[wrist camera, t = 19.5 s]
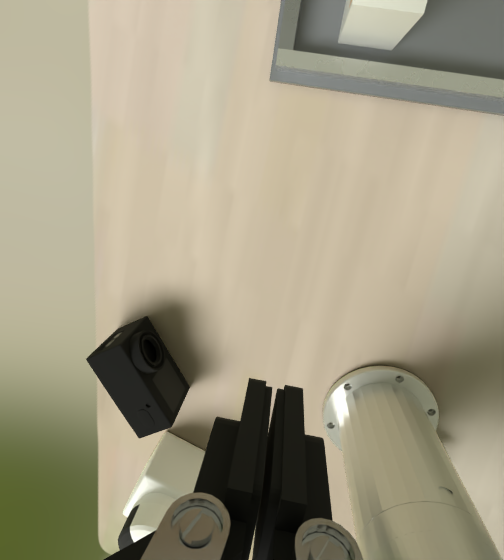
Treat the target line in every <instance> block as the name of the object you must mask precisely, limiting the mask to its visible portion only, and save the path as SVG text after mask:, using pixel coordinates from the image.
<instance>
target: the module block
mask: <svg viewBox="0 0 504 560" xmlns="http://www.w3.org/2000/svg"><path fill="white" fill-rule="evenodd" d="M426 4H427V0H346V3H345V8H344V13H343V18H342V23H341V29H340V34H339V39H338V43H340V44H348V45H355V46H362V47H369V48H376V49H384V50H392V49H393V48H394V47H395V46H396V45H397V44H398V43H399V41H400V40H401V39H402V38H403V37H404V36H405V35H406V34H407V32H408V31H409V30H410V29H411V28H412V27H413V26H414V25H415V23H416V22H417V21H418V20H419V19H420V18H421V17H422V15H423V14H424V12H425V8H426Z"/></svg>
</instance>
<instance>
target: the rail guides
mask: <svg viewBox="0 0 504 560" xmlns="http://www.w3.org/2000/svg"><path fill="white" fill-rule="evenodd" d="M301 4H302V0H285V6H284V13H283V19H282V26H281V33H280V39H279V46H278V53H277V59H276V69H277V71H283V72H290V73H297V74H304V75H311V76H318V77H325V78H331V79H338V80H345V81H352V82H359V83H366V84H373V85H380V86H387V87H394V88H401V89H408V90H415V91H422V92H429V93H436V94H443V95H450V96H457V97H464V98H470V99H477V100H484V101H491V102H498V103H504V80H501V79H494V78H487V77H480V76H473V75H466V74H459V73H451V72H444V71H437V70H430V69H423V68H416V67H409V66H402V65H394V64H387V63H380V62H373V61H366V60H359V59H352V58H345V57H337V56H330V55H323V54H316V53H309V52H302V51H295V50H294V47H295V41H296V35H297V29H298V23H299V16H300V10H301Z"/></svg>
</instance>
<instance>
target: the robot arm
mask: <svg viewBox="0 0 504 560" xmlns="http://www.w3.org/2000/svg"><path fill="white" fill-rule="evenodd" d="M271 396H272V387H268V386H266V381H262V380H257V379H251V378H249V382H248V387H247V392H246V397H245V401H244V406H243V411H242V416H241V421H235V420H230V419H225V418H220V417H216V419H215V422H214V425H213V429H212V432H211V435H210V438H209V442H208V445H207V448H206V452H205V455H204V458H203V461H202V465H201V468H200V471H199V475H198V478H197V481H196V485H195V488H194V491H193V493H189V494H186V495H184V496H181V497H180V498H178V499H177V500H176V501H174V502H173V503H172V504H171V506H170V507H169V508H168V510H167V511H166V513H165V515H164V517H163V519H162V521H161V522H160V524H159V526H158V528H157V530H155V531H153V532H152V533H150V534H148V535H146V536H145V537H143V538H141V539H139V540H138V541H136V542H134V543H132V544H130V545H129V546H127V547H125V548H123V549H122V550H120V551H118V552H116V553H114V554H113V555H111V556H109V557H107V558H106V559H104V560H248V559H249V554H250V550H251V545H252V540H253V535H254V531H255V538H254V548H253V557H252V560H503V559H502V557H501V555H500V553H499V551H498V550H497V548H496V546H495V544H494V542H493V540H492V538H491V536H490V534H489V533H488V530H487V529H486V527H485V525H484V523H483V521H482V519H481V517H480V515H479V513H478V511H477V509H476V508H475V506H474V504H473V502H472V500H471V498H470V496H469V494H468V492H467V490H466V488H465V487H464V485H463V483H462V481H461V479H460V477H459V475H458V473H457V471H456V469H455V467H454V466H453V464H452V462H451V460H450V458H449V456H448V454H447V452H446V450H445V448H444V446H443V445H442V443H441V441H440V439H439V437H438V435H437V433H436V429H437V426H438V422H439V410H438V405H437V402H436V400H435V398H434V396H433V394H432V392H431V391H430V389H429V388H428V386H427V385H426V384H425V383H424V382H423V381H422V380H421V379H419V378H418V377H417V376H415V375H414V374H412V373H410V372H408V371H405V370H403V369H399V368H396V367H391V366H370V367H365V368H361V369H358V370H355V371H353V372H351V373H349V374H347V375H345V376H344V377H342V378H341V379H340V380H338V381H337V382H336V383H335V384H334V385H333V386H332V388H331V389H330V391H329V392H328V394H327V396H326V398H325V401H324V405H323V410H322V411H323V423H324V428H325V430H326V433H327V435H328V437H329V438H330V440H331V441H332V443H333V444H334V445H335V446H336V447H337V448H338V449H339V450H341V451H342V454H343V461H344V467H345V473H346V479H347V485H348V491H349V497H350V504H351V510H352V516H353V522H354V528H355V534H356V540H357V542H356V541H355V539H354V538H353V537H352V536H351V534H350V533H349V532H348V531H347V530H346V529H344V528H343V527H342V526H341V525H339V524H337V523H335V522H333V521H332V512H331V502H330V493H329V484H328V474H327V465H326V456H325V446H324V440H323V438H320V437H315V436H310V435H305V431H304V405H303V389H302V388H298V387H293V386H288V385H285V387H284V390H283V389H277V393H276V398H275V403H274V408H273V413H272V418H271V422H270V427H269V417H270V407H271ZM268 428H269V432H268ZM255 526H256V529H255Z"/></svg>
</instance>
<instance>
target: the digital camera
mask: <svg viewBox="0 0 504 560" xmlns="http://www.w3.org/2000/svg"><path fill="white" fill-rule="evenodd" d="M86 360H87V361H88V363H89V365H90V366H91V368H92V369H93V371H94V372H95V374H96V375H97V377H98V378H99V380H100V381H101V383H102V384H103V386H104V387H105V389H106V390H107V392H108V393H109V395H110V396H111V398H112V399H113V401H114V402H115V404H116V405H117V407H118V408H119V410H120V411H121V413H122V414H123V416H124V417H125V419H126V420H127V421H128V423H129V424H130V426H131V427H132V429H133V430H134V432H135V433H136V435H137V436H138V438H142V437H145V436H148V435H151V434H153V433H156V432H159V431H162V430H165V429H168V428H171V427H172V425H173V423H174V421H175V419H176V417H177V415H178V412H179V410H180V408H181V406H182V403H183V401H184V399H185V397H186V395H187V392H188V390H189V388H190V387H189V385H188V383H187V382H186V380H185V378H184V377H183V375H182V373H181V372H180V370H179V368H178V367H177V365H176V363H175V362H174V360H173V358H172V357H171V355H170V353H169V352H168V350H167V348H166V347H165V345H164V343H163V342H162V340H161V338H160V337H159V335H158V333H157V332H156V330H155V328H154V327H153V325H152V323H151V322H150V320H149V318H148V317H144V318H142V319H140V320H137V321H135V322H133V323H130V324H128V325H126V326H124V327H121V328H119V329H117V330H116V331H115V332H114V333H113V334H112V335H111V336H110V337H109V338H108V339H106V340H105V341H104V342H103V343H102V344H101V345H100V346H99V347H98V348H97V349H96V350H95V351H94V352H93V353H92V354H91V355H90V356H89V357H88V358H87V359H86Z"/></svg>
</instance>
